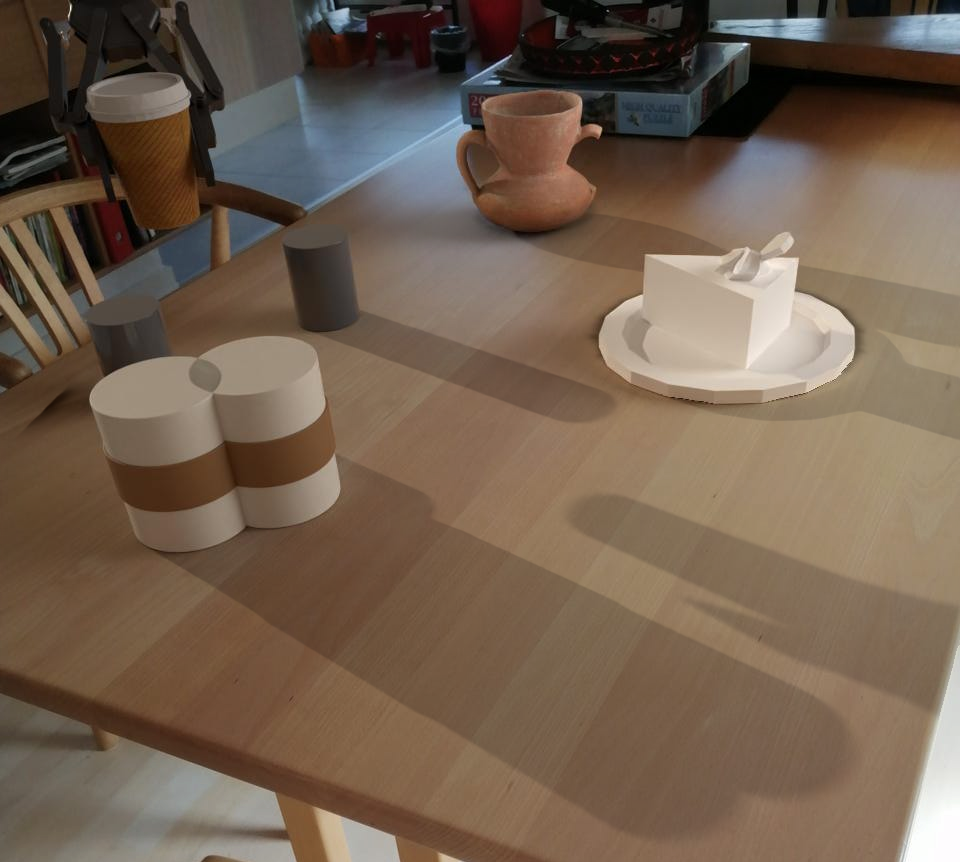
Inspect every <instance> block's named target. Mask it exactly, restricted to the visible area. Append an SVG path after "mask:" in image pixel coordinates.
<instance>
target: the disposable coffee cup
mask: <svg viewBox="0 0 960 862" xmlns="http://www.w3.org/2000/svg"><path fill="white" fill-rule="evenodd" d="M86 92H87V103H86V105H85V108H86V110H87V111H88V112H89V113H90V115H91V117H92V118H93V120H95V123H96V127H97V130H98V134H99V136H100V139H101V141H102V142H103V145H104V149H105V150H106V152H107V155H108V157H109V160H110V162H111V165H112V168H113V170H114V173H115V176H116V178H117V180H118V183H119V185H120V188H121V190H122V193H123V195H124V198H125V200H126V203H127V206H128V208H129V210H130V213H131V216H132V219H133V220H134V223H135V225H136V226H137V227H139V228H141V229H145V230H171V229H175V228H180V227H182V226H186V225H188V224H190V223H193V222H194V221H196V220H197V219H199V218H200V216H201V209H200V201H199V191H198V182H197V175H196V164H195V156H194V146H193V144H194V143H193V134H192V128H191V125H190V116H189V107H188V106H189V105H190V100H189V99H190V97H191V92H190V91H189V90H188V89H187V88H186V86H185V84H184V81H183V79H182V77H181V76H179V75H177V74H173V73H163V72H158V71H157V72H156V71H155V72H153V71H152V72H151V71H150V72H139V73H130V74H124V75H118V76H114V77H110V78H109V77H108V78H105V79H102V81H99V82H97V83H94V84H93V85H91V86H89V87H88V88H87V90H86Z"/></svg>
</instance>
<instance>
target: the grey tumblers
mask: <svg viewBox="0 0 960 862" xmlns="http://www.w3.org/2000/svg"><path fill="white" fill-rule="evenodd" d="M281 243H282V249H283V253H284V259H285V265H286V270H287V275H288V280H289V285H290V286H289V287H290V291H291V297H292V301H293V308H294V312H295V318H296V322H297V324H298V326H299V327H301V328H302V329H304V330H307V331H312V332H332V331H337V330H340V329H341V330H342V329H344V328H347V327H350V326H352V325H353V324H355V323H356V322H357V321H358V320H359V319H360V317H361V311H360V303H359V297H358V290H357V284H356V277H355V271H354V262H353V255H352V250H351V249H352V248H351V242H350V236H349V230H347V228H345V227H343V226H340V225H336V224H311V225H306V226H302V227H299V228H296V229H293V230H291V231H289V232H287V233H286V234H284V236H283V237H282V238H281ZM163 313H164V312H163V309H162V305H161V302H160V301H159V300H158V299H157V298H156V297H154V296H152V295H148V294H124V295H119V296H118V295H117V296H114V297H111V298H107V299H104V300H102V301H99V302H97V303H95V304H94V305H92V306H90V307H89V308H88V309H87V310H86V311H85V313H84V316H83V317H84V321H85V323H86V326H87V330H88V332H89V333H88V334H89V336H90V338H91V342H92V344H93V347H94V351H95V353H96V354H95V355H96V357H97V360H98V363H99V366H100V368H101V372H102V375H103V378H105V377H106V376H108V375H109V374H111V373H113V372H115V371H117V370H119V369H121V368H124V367H126V366H129V365H132V364H134V363H138V362H141V361H146V360H150V359H156V358H163V357H175V353H174V349H173V346H172V343H171V339H170V334H169V332H168V328H167V324H166V321H165V317H164V314H163Z"/></svg>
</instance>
